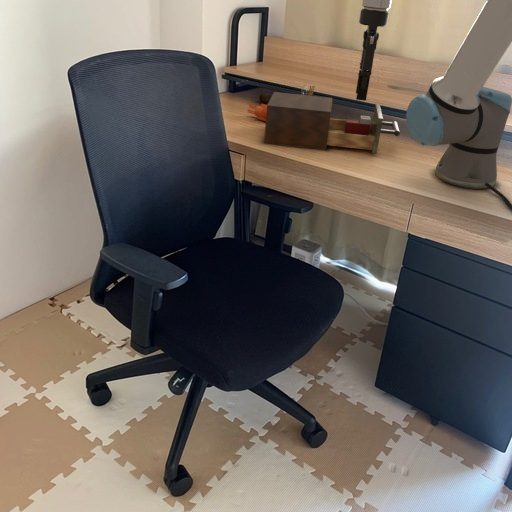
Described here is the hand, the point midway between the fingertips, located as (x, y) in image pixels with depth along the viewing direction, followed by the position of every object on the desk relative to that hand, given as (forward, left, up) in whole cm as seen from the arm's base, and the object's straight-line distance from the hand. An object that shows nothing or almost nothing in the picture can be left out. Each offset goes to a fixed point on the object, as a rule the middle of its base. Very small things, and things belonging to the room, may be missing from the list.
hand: (360, 96), depth 151 cm
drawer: (0, 0, -13) cm, 13 cm away
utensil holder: (+26, -3, -14) cm, 30 cm away
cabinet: (+12, +12, -14) cm, 22 cm away
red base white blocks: (0, 0, -12) cm, 12 cm away
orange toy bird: (+32, +9, -14) cm, 36 cm away
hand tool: (+41, -5, -14) cm, 44 cm away
